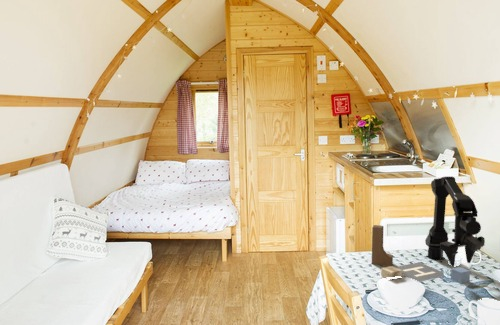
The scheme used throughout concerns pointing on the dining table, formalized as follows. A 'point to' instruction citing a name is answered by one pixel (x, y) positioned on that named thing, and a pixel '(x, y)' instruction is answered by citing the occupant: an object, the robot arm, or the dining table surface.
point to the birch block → (390, 272)
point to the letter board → (420, 271)
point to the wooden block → (379, 248)
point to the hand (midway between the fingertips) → (460, 264)
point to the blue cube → (460, 275)
